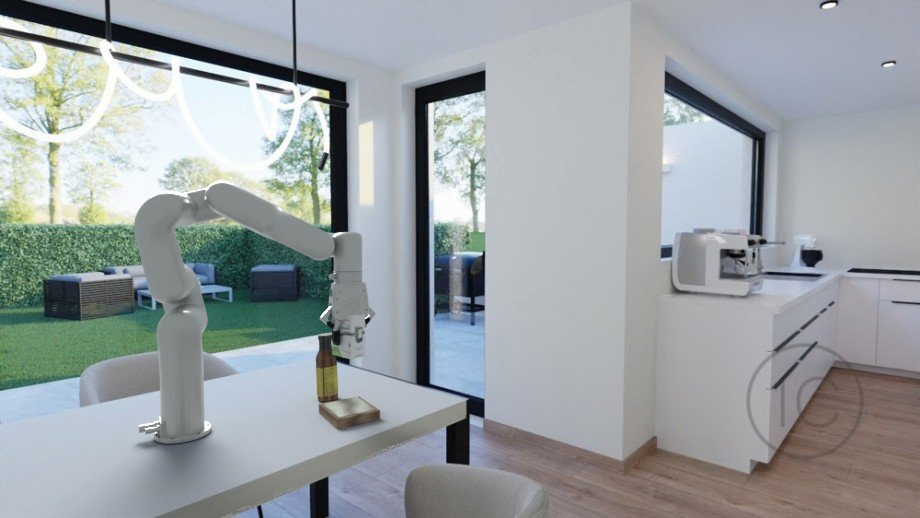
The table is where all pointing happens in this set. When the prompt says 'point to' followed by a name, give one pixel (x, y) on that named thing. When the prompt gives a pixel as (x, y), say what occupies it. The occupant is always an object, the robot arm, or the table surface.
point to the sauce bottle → (326, 370)
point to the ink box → (351, 337)
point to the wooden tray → (349, 412)
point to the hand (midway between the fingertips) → (348, 342)
